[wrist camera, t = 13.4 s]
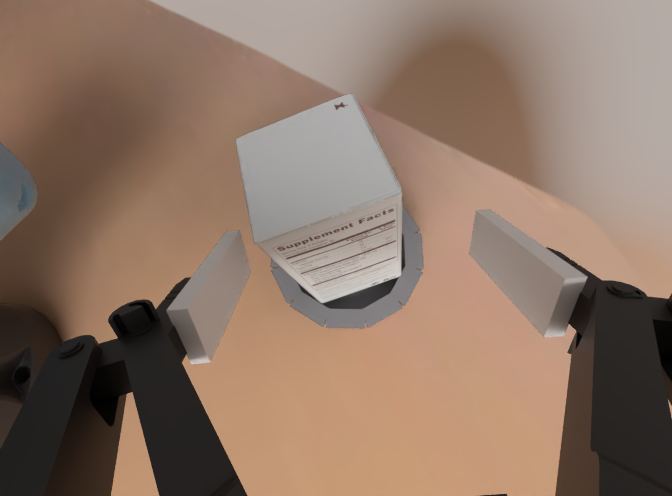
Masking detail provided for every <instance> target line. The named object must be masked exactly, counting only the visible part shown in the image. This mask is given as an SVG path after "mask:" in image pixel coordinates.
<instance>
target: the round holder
mask: <svg viewBox="0 0 672 496" xmlns="http://www.w3.org/2000/svg"><path fill="white" fill-rule="evenodd" d="M419 230H420V229H419V227H418V226H417V225H416V223H415V222H414V220H413V219H412V217H411V216H410V214H409V213H408V211H407V210H406V209H405V207H404V206H403V204H402V251H401V276H399V277H397V278H394V279H391V280H388V281H385V282H382V283H380V284H377V285H374V286H371V287H368V288H366V289H363V290H360V291H357V292H354V293H351V294H348V295H346V296H343V297H340V298H337V299H334V300H331V301H328V302H326V303H323V304H322V303H320V302H319V301H318V300H317V299H316V298H315V297H313V296H312V295H311V294H310V293H309V292H308V291H307V290H306V289H305V288H303V287H302V286H301V285H300V284H299V283H298V282H297V281H296V280H295V279H294V278H292V277H291V276H290V275H289V274H288V273H287V272H286V271H285V270H284V269H283V268H281V267H280V266H279V265H278V264H277V263H276V262H275V261H274V260H273V259H272V258H271V266H270V267H271V268H273V269H274V270H272V274H273V276H274V278H275V280H276V282H277V284H278V286H279V288H280V290H281V292H282V294H283V296H284V298H285V300H286V302H287V303H288V304H290V307H292V308H294V309H295V310H297V311H298V312H300V313H301V314H303V315H305V316H306V317H308V318H309V319H311V320H312V321H314V322H316V323H317V324H319V325H320V326H322V327H324V326H325V325H326V328H345V329H347V328H349V329H365V326H367V327H368V328H369V327H371V326H373V325H374V324H376V323H378V322H379V321H381V320H383V319H385V318H386V317H388V316H390V315H392V314H393V313H395V312H397V311H398V310H400V309H402V306H404V305H406V303H407V301H408V300H409V298H410V296H411V294H412V292H413V290H414V288H415V286H416V284H417V283H418V281H419V279H420V277H421V275H422V273H423V272H421V270H422V269H423V268H424V265H423V251H422V236H421V233H418V232H419Z"/></svg>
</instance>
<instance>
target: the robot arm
mask: <svg viewBox="0 0 672 496" xmlns="http://www.w3.org/2000/svg"><path fill="white" fill-rule="evenodd" d="M37 199H38V191H37V186H36V183H35V181H34V179H33V178H32V176H31V174H30V173H29V171H28V170H27V169H26V168H25V166H24V165H23V164H22V163H21V162H20V161H19V160H18V159H17V157H16V156H15V155H14V154H13V153H12V152H11V151H9V150H8V149H7V148H6V147H5V146H4V145H3V144H2V143H1V142H0V241H1V240H2V239H3V238H4V237H5V236H6V235H7V234H8V233H9V232H10V231H11V230H12V229H13V228H14V227H15V226H17V225H18V224H19V223H20V222H21V221H22V220H23V219H24V218H25V217H26V216H27V215H28V214H29V213H30V212H31V211H32V210H33V209H34V207H35V205H36V202H37ZM469 254H470V255H471V257H472V258H473V259H474V260H475V261H476V262H477V263H478V264H479V266H480V267H481V268H482V269H483V270H484V271H485V272H486V273H487V274H488V276H489V277H490V278H491V279H492V280H493V281H494V282H495V283H496V284H497V286H498V287H499V288H500V289H501V290H502V291H503V292H504V293H505V295H506V296H507V297H508V298H509V299H510V300H511V301H512V302H513V303H514V305H515V306H516V307H517V308H518V309H519V310H520V311H521V312H522V314H523V315H524V316H525V317H526V318H527V319H528V320H529V321H530V322H531V324H532V325H533V326H534V327H535V328H536V329H537V330H538V331H539V333H540V334H541V335H542V336H543V337H557V336H564V334H565V332H566V329H567V327H568V324H570V325H571V326H572V327H573V328H574V329H575V330H576V334H575V336H574V338H573V341H572V343H571V345H570V348H569V350H568V352H567V353H569V354H571V353H572V356H571V364H570V373H569V382H568V390H567V399H566V408H565V416H564V425H563V434H562V442H561V451H560V460H559V468H558V477H557V486H556V494H555V496H672V418H671V413H670V408H669V403H668V400H669V402H670V403H671V405H672V294H671V296H670V298H669V299H664V298H656V297H647V295H646V294H645V293H644V292H643V291H641V290H640V289H638V288H636V287H634V286H632V285H629V284H626V283H622V282H617V281H602V280H601V279H599V278H598V277H596V276H595V275H593V274H592V273H590V272H589V271H587V270H586V269H584V268H583V267H581V266H580V265H578V264H577V263H575V262H574V261H572V260H570V259H569V258H568V257H566V256H565V255H563V254H562V253H560V252H558V251H555V250H553V249H550V248H548V247H547V248H545V247H544V246H542V245H541V244H540V243H538V242H537V241H535V240H534V239H532V238H531V237H529V236H528V235H527V234H525V233H524V232H522V231H521V230H519V229H518V228H516V227H515V226H514V225H512V224H511V223H509V222H508V221H506V220H505V219H504V218H502V217H501V216H499V215H498V214H496V213H495V212H493V211H492V210H491V209H487V210H476V215H475V221H474V227H473V233H472V240H471V246H470V252H469ZM250 273H251V270H250V267H249V263H248V259H247V255H246V252H245V248H244V244H243V240H242V237H241V233H240V230H239V231H227V232H226V233H225V234H224V235H223V237H222V238H221V239H220V241H219V242H218V243H217V244H216V246H215V247H214V248H213V250H212V251H211V252H210V254H209V255H208V256H207V258H206V259H205V260H204V262H203V263H202V264H201V265H200V267H199V268H198V269H197V271H196V272H195V273H194V275H193V276H192V277H190V278H185V279H183V280H182V281H180V282H179V283H178V284H176V285H175V287H174V288H173V289H172V290H171V291H170V293H169V294H168V295H167V296H166V298H165V300H163V301H162V302H161V304H160V305H159V306H158V307H157V309H156V310H155V308H154V306H153V304H152V302H151V301H149V300H136V301H133V302H130V303H127V304H125V305H123V306H121V307H120V308H118V309H117V310H115V311H114V312H113V313H112V314H111V315H110V316H109V319H108V322H109V324H110V325H111V327H112V329H113V330H114V332H115V334H116V335H117V337H118V338H117V339H114V340H110V341H107V342H103V343H100V344H98V342H97V341H96V339H95V338H94V337H93V336H91V335H83V336H79V337H76V338H73V339H70V340H68V341H66V342H64V343H62V344H61V342H60V339H59V337H58V335H57V333H56V331H55V329H54V327H53V326H52V324H51V323H50V322H49V321H48V320H47V319H46V318H45V317H44V316H43V315H42V314H40V313H39V312H37V311H35V310H34V309H31V308H29V307H26V306H22V305H17V304H8V303H0V496H111V490H112V484H113V477H114V471H115V465H116V458H117V452H118V446H119V439H120V433H121V427H122V420H123V414H124V407H125V401H126V395H127V393H130V392H133V395H134V399H135V403H136V407H137V411H138V415H139V419H140V422H141V426H142V430H143V434H144V438H145V442H146V446H147V450H148V453H149V457H150V461H151V465H152V469H153V473H154V477H155V480H156V484H157V488H158V492H159V496H247V494H246V492H245V490H244V488H243V486H242V484H241V482H240V480H239V478H238V476H237V474H236V472H235V470H234V468H233V466H232V464H231V462H230V460H229V458H228V456H227V454H226V452H225V450H224V448H223V446H222V443H221V441H220V439H219V437H218V435H217V433H216V431H215V429H214V427H213V425H212V423H211V421H210V419H209V417H208V415H207V413H206V411H205V409H204V407H203V405H202V403H201V401H200V399H199V397H198V395H197V393H196V391H195V389H194V387H193V385H192V383H191V381H190V379H189V377H188V375H187V373H186V371H185V368H184V366H183V364H182V361H183V359H184V357H185V356H186V354H187V356H188V358H189V360H190V363H191V364H202V363H210V362H211V360H212V358H213V356H214V353H215V351H216V349H217V347H218V345H219V342H220V340H221V338H222V336H223V333H224V331H225V329H226V327H227V324H228V322H229V320H230V318H231V315H232V313H233V311H234V309H235V306H236V304H237V302H238V300H239V297H240V295H241V293H242V291H243V288H244V286H245V284H246V282H247V279H248V277H249V275H250ZM482 496H507V494H497V495H482Z"/></svg>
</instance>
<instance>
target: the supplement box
mask: <svg viewBox="0 0 672 496" xmlns="http://www.w3.org/2000/svg"><path fill="white" fill-rule="evenodd" d="M236 147H237V152H238V158H239V164H240V169H241V175H242V180H243V186H244V191H245V197H246V202H247V208H248V213H249V218H250V223H251V229H252V234H253V240H254V243H255V244H256V245H257V246H258V247H260V248H261V249H262V250H263V251H264V252H265V253H266V254H267V255H268V256H269V257H270V258H272V259H273V260H274V261H275V262H276V263H277V264H278V265H279V266H280V267H281V268H283V269H284V270H285V271H286V272H287V273H288V274H289V275H290V276H291V277H292V278H294V279H295V280H296V281H297V282H298V283H299V284H300V285H301V286H302V287H303V288H305V289H306V290H307V291H308V292H309V293H310V294H311V295H312V296H313V297H315V298H316V299H317V300H318V301H319V302H320V303H322V304H323V303H326V302H328V301H331V300H334V299H337V298H340V297H343V296H346V295H348V294H351V293H354V292H357V291H360V290H363V289H366V288H368V287H371V286H374V285H377V284H380V283H382V282H385V281H388V280H391V279H394V278H397V277H399V276H401V251H402V188H401V186H400V184H399V182H398V180H397V178H396V176H395V174H394V172H393V170H392V168H391V166H390V164H389V163H388V161H387V159H386V157H385V155H384V153H383V151H382V149H381V147H380V145H379V143H378V141H377V138H376V136H375V134H374V132H373V130H372V129H371V127H370V126H369V124H368V122H367V120H366V118H365V116H364V114H363V112H362V110H361V108H360V106H359V104H358V102H357V100H356V98H355V96H354V94H353V93H351V94H347V95H344V96H341V97H338V98H336V99H333V100H330V101H328V102H325V103H322V104H320V105H317V106H315V107H313V108H310V109H308V110H305V111H303V112H300V113H298V114H295V115H293V116H290V117H288V118H285V119H283V120H280V121H278V122H275V123H273V124H270V125H268V126H265V127H263V128H260V129H258V130H255V131H252V132H250V133H248V134H245V135H243V136H241V137H239V138H237V139H236Z"/></svg>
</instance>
